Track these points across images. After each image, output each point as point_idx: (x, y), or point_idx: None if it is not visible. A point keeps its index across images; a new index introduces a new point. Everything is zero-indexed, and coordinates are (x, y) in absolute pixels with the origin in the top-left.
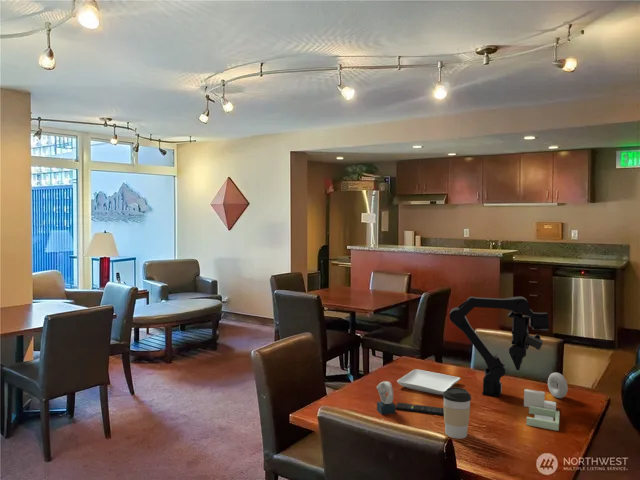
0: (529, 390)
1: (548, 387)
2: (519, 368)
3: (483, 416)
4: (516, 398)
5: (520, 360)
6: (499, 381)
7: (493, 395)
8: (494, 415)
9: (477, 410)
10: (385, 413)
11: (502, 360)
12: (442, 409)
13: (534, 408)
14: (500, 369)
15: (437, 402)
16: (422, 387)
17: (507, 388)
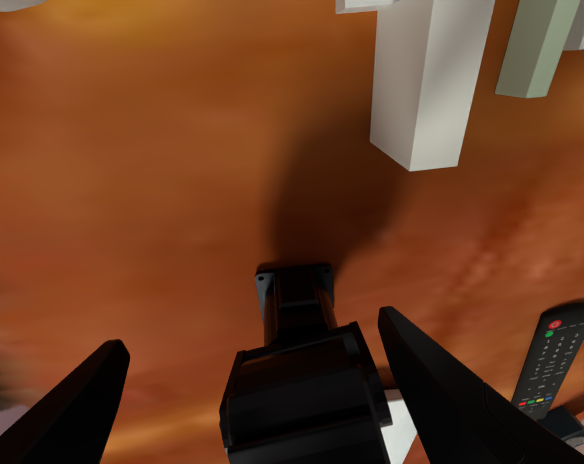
0: (435, 132)
1: (34, 4)
2: (407, 320)
3: (570, 255)
4: (298, 194)
5: (535, 433)
6: (322, 319)
7: (332, 283)
8: (556, 226)
9: (511, 284)
10: (573, 415)
11: (240, 461)
12: (545, 355)
13: (554, 58)
14: (385, 396)
15: None
16: (410, 436)
17: (170, 260)
